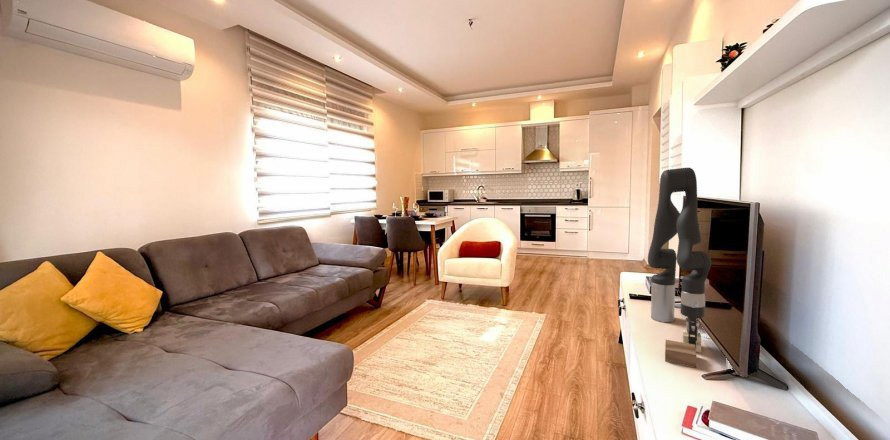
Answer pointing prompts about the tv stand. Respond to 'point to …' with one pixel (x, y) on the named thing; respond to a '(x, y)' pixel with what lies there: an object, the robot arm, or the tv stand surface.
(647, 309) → the tv stand surface
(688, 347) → the walnut base block
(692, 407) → the tv stand surface
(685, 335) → the birch cube
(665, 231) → the robot arm
